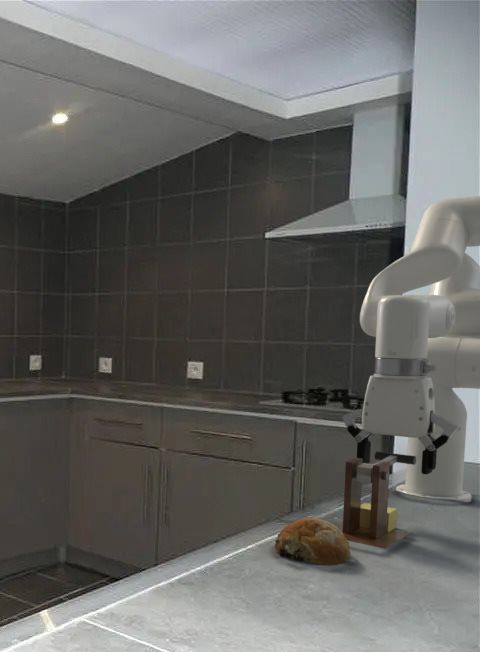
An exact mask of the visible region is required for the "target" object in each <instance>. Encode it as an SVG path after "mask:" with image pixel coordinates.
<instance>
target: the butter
mask: <svg viewBox="0 0 480 652" xmlns="http://www.w3.org/2000/svg"><path fill="white" fill-rule="evenodd" d="M398 511H399V510H398V508H395V507H390V506H388V507H387V526H386V532H390V531H391V530H393V529H397V527H398ZM370 514H371V503H368V502H364V503H361V505H360V525H359V527H363V528H368V529H370Z"/></svg>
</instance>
